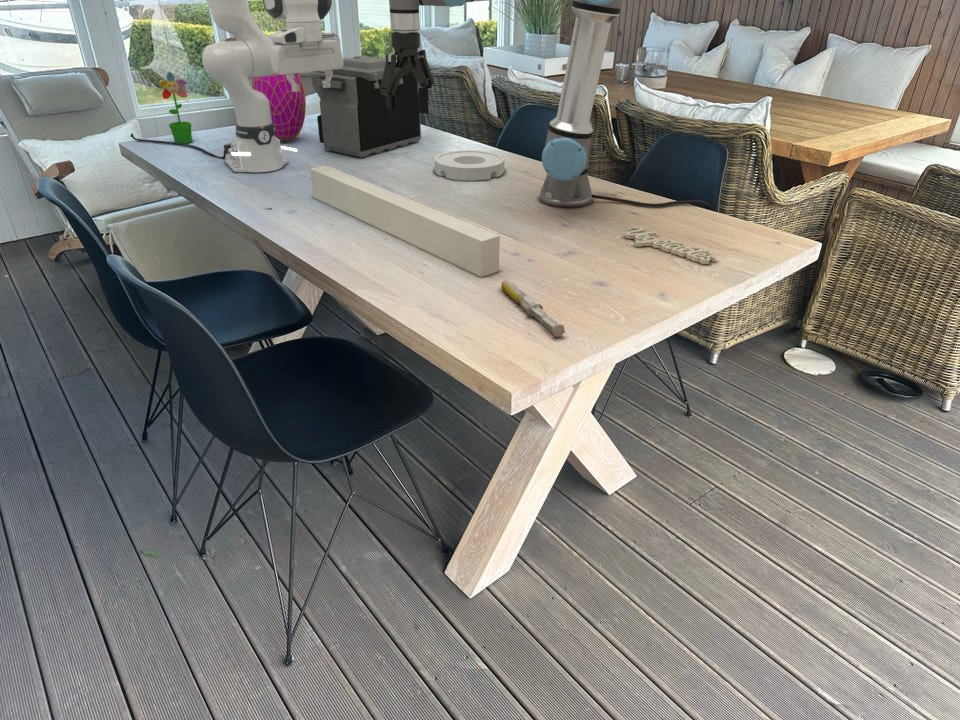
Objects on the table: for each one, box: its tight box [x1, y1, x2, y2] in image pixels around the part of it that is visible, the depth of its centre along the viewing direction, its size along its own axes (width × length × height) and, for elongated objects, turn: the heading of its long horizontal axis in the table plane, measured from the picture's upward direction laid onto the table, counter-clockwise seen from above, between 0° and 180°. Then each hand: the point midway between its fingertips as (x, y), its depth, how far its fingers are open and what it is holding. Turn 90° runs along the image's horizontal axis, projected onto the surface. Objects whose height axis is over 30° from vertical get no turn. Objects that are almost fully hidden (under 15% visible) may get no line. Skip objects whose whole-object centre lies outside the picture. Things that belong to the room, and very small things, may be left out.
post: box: [309, 165, 501, 278], centre depth 178 cm, size 76×5×8 cm, turn 41°
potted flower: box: [158, 71, 193, 144], centre depth 254 cm, size 9×8×25 cm
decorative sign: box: [624, 226, 717, 265], centre depth 170 cm, size 26×1×10 cm
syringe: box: [500, 279, 566, 338], centre depth 139 cm, size 25×4×3 cm, turn 21°
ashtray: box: [434, 149, 505, 182], centre depth 228 cm, size 23×23×4 cm
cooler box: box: [310, 55, 422, 159], centre depth 250 cm, size 37×22×30 cm, turn 144°
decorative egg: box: [251, 73, 307, 142], centre depth 257 cm, size 19×19×30 cm
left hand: (311, 89), depth 189 cm, fingers open, 8 cm apart
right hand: (408, 117), depth 187 cm, fingers open, 13 cm apart
